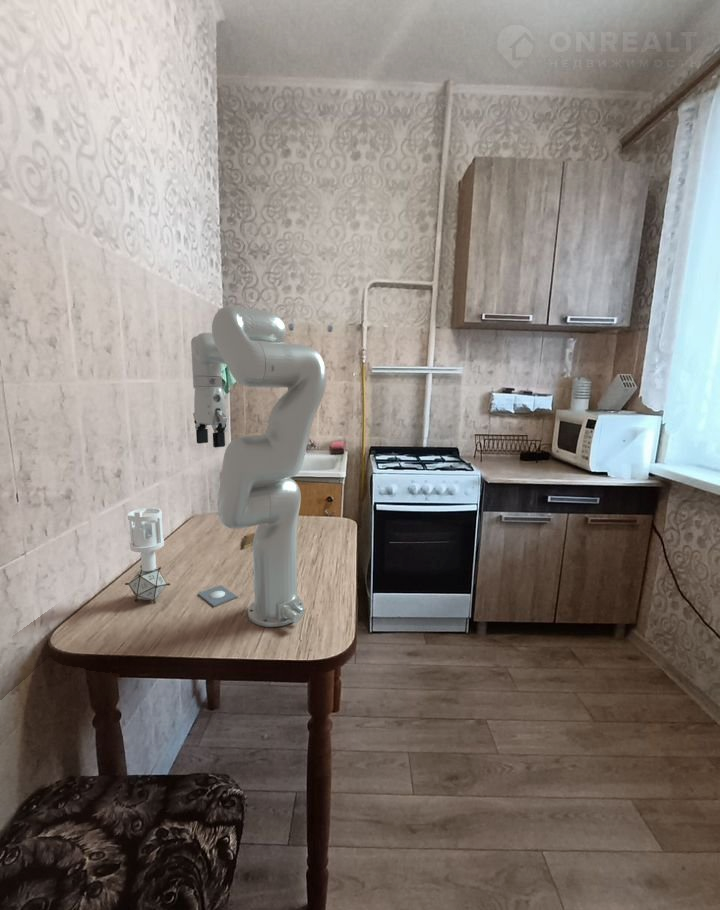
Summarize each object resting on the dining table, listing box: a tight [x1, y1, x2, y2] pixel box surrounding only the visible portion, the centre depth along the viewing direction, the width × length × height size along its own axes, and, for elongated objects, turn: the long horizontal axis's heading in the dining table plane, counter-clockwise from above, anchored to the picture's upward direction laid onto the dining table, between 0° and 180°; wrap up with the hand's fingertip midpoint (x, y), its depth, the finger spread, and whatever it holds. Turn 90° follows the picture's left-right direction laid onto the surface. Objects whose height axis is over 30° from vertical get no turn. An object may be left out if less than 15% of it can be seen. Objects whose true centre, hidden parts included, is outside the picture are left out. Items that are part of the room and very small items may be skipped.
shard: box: [242, 532, 255, 550], centre depth 136 cm, size 11×8×2 cm
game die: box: [124, 564, 172, 604], centre depth 98 cm, size 9×8×10 cm
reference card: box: [197, 584, 238, 608], centre depth 101 cm, size 8×6×1 cm
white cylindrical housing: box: [127, 507, 165, 571], centre depth 97 cm, size 7×7×15 cm
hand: (210, 444), depth 116 cm, fingers open, 9 cm apart
